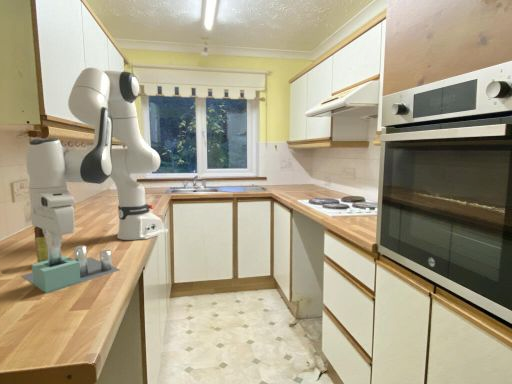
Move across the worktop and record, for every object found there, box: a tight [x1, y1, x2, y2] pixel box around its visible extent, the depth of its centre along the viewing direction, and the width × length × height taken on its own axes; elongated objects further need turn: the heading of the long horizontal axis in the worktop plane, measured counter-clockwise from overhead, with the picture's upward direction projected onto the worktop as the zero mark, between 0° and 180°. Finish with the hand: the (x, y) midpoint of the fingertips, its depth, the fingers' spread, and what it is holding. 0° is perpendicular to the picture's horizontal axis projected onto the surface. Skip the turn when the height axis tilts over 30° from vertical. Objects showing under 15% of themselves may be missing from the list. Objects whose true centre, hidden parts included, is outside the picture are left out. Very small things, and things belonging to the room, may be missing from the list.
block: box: [31, 255, 81, 294], centre depth 92 cm, size 9×9×6 cm
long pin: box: [46, 230, 63, 267], centre depth 91 cm, size 3×3×14 cm
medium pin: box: [73, 244, 88, 278], centre depth 98 cm, size 3×3×9 cm
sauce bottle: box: [33, 226, 48, 263], centre depth 108 cm, size 7×6×20 cm
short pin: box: [99, 249, 113, 271], centre depth 103 cm, size 3×3×6 cm
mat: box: [21, 257, 121, 294], centre depth 101 cm, size 21×20×1 cm
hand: (53, 245), depth 91 cm, fingers closed on long pin, 3 cm apart
